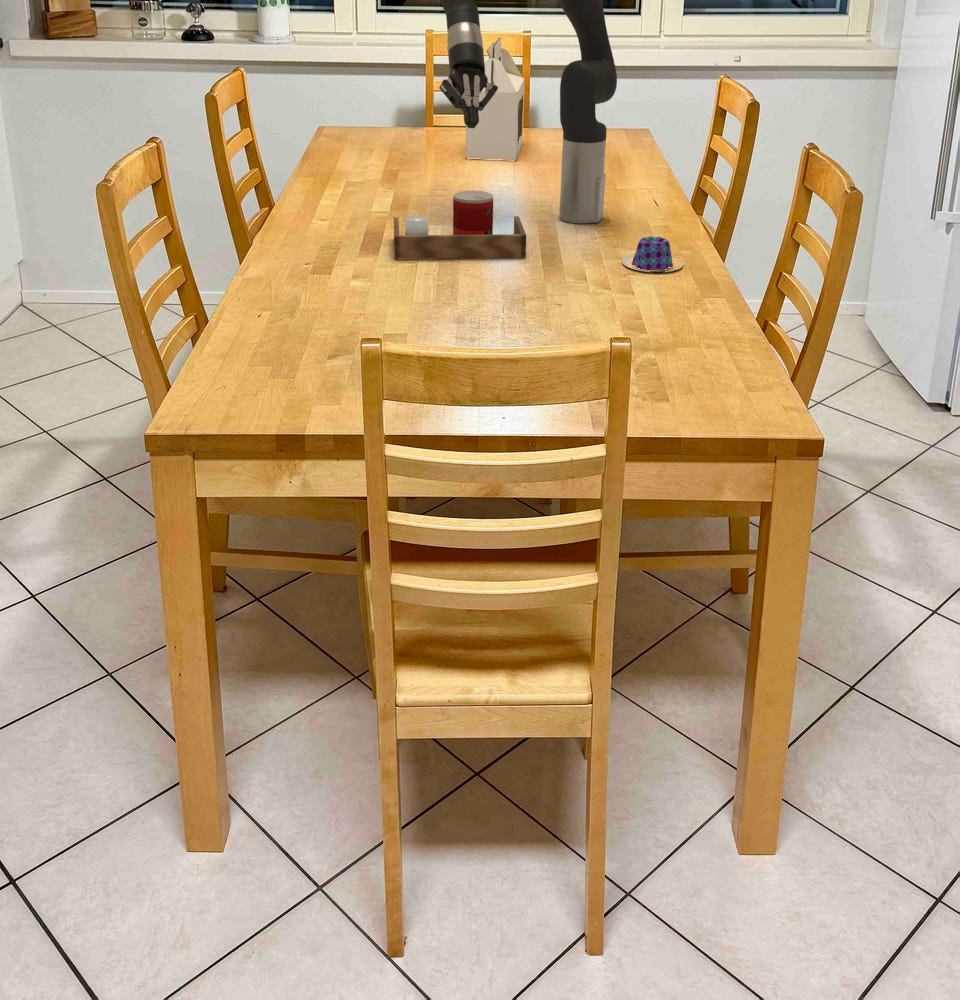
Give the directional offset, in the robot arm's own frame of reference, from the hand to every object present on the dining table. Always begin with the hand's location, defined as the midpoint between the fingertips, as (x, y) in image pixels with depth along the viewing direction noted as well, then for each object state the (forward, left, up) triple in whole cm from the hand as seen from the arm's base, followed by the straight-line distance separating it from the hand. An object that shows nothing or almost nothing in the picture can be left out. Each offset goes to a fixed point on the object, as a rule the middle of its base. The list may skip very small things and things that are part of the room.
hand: (472, 126), depth 241 cm
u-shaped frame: (-3, +19, -20) cm, 28 cm away
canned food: (-6, +19, -20) cm, 29 cm away
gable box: (+13, -68, -21) cm, 72 cm away
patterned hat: (-42, +18, -21) cm, 50 cm away
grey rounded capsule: (+4, +25, -20) cm, 33 cm away
